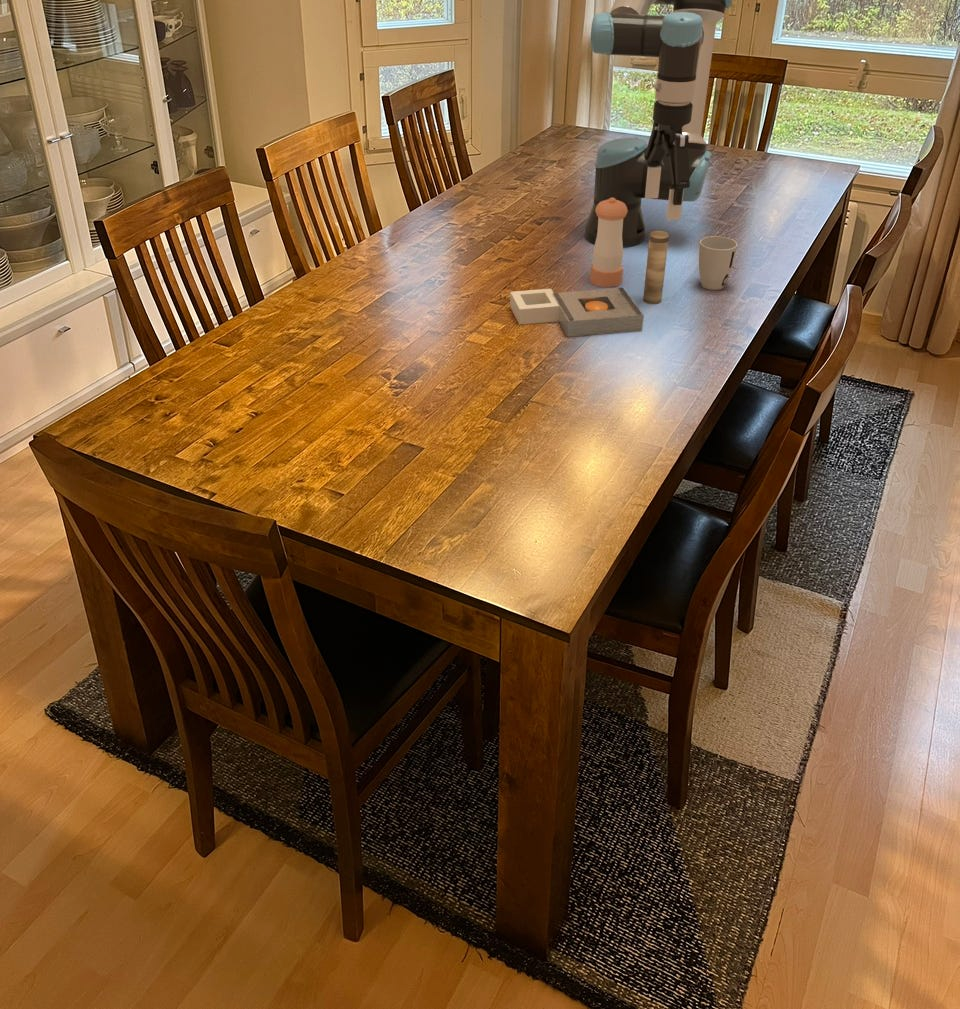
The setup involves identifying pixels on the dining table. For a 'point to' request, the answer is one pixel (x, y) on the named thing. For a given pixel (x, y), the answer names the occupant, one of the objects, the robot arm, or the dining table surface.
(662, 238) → the brown wooden cylinder
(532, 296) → the holder
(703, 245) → the cup
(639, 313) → the grey square frame
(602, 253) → the salt shaker
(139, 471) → the dining table surface
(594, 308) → the button
